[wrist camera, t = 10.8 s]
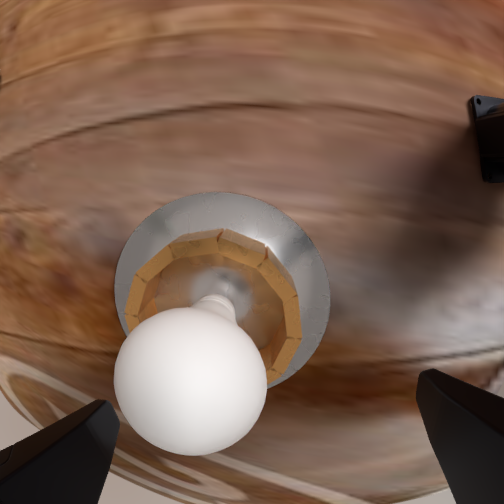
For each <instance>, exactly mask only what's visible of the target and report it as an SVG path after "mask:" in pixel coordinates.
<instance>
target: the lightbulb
mask: <svg viewBox="0 0 504 504" xmlns="http://www.w3.org/2000/svg"><path fill="white" fill-rule="evenodd" d="M114 388H115V394H116V397H117V401H118V404H119V406H120V409H121V411H122V413H123V414H124V416H125V418H126V419H127V421H128V422H129V424H130V425H131V427H132V428H133V429H134V430H135V431H136V432H137V433H138V434H139V435H140V436H141V437H143V438H144V439H145V440H146V441H148V442H150V443H151V444H153V445H155V446H157V447H159V448H161V449H163V450H166V451H169V452H172V453H176V454H181V455H192V456H198V455H206V454H210V453H214V452H217V451H220V450H223V449H225V448H227V447H229V446H231V445H233V444H234V443H236V442H237V441H238V440H240V439H241V438H242V437H244V436H245V435H246V434H247V433H248V432H249V431H250V429H251V428H252V427H253V426H254V424H255V423H256V421H257V420H258V418H259V415H260V413H261V411H262V409H263V406H264V403H265V399H266V392H267V378H266V369H265V366H264V363H263V360H262V358H261V355H260V353H259V351H258V349H257V347H256V346H255V344H254V342H253V341H252V339H251V338H250V337H249V336H248V335H247V334H246V333H245V331H244V330H243V329H242V328H240V327H239V326H238V325H237V322H236V319H235V309H234V306H233V305H232V303H231V302H230V301H229V299H227V298H226V297H224V296H222V295H219V294H207V295H204V296H202V297H201V298H200V299H199V300H198V301H197V302H196V303H195V304H194V305H192V306H190V307H186V308H173V309H169V310H166V311H162V312H160V313H158V314H156V315H154V316H152V317H150V318H148V319H146V320H144V321H142V322H141V323H140V324H139V325H138V326H137V327H135V328H134V329H133V330H132V332H131V333H130V334H129V335H128V337H127V338H126V340H125V341H124V342H123V344H122V346H121V349H120V351H119V354H118V357H117V360H116V363H115V371H114Z"/></svg>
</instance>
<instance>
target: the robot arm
mask: <svg viewBox="0 0 504 504" xmlns="http://www.w3.org/2000/svg"><path fill="white" fill-rule="evenodd" d="M476 100H477V101H478V104H477V102H476ZM471 104H472V108H473V114H474V119H475V124H476V130H477V137H478V144H479V151H480V159H481V168H482V177H483V180H484V181H485V182H486V183H500V182H504V99H500V98H494V97H487V96H480V95H475V96H473V97H472V98H471ZM488 174H489V178H488ZM416 401H417V404H418V407H419V410H420V413H421V416H422V419H423V422H424V425H425V428H426V431H427V434H428V437H429V440H430V443H431V445H432V448H433V450H434V452H435V455H436V457H437V459H438V461H439V464H440V466H441V468H442V470H443V473H444V475H445V477H446V480H447V482H448V484H449V487H450V489H451V492H452V494H453V497H454V499H455V501H456V504H504V398H502V397H500V396H497V395H495V394H493V393H490V392H488V391H485V390H483V389H481V388H478V387H476V386H474V385H471V384H469V383H466V382H464V381H462V380H459V379H457V378H455V377H452V376H450V375H448V374H446V373H443V372H441V371H439V370H436V369H434V368H432V369H428V370H424V371H422V372H420V374H419V378H418V384H417V391H416ZM119 428H120V422H119V419H118V417H117V415H116V412H115V410H114V408H113V406H112V404H111V403H110V401H108V400H100V399H98V400H95V401H93V402H91V403H90V404H88V405H86V406H84V407H83V408H81V409H79V410H77V411H75V412H74V413H72V414H70V415H68V416H66V417H64V418H63V419H61V420H59V421H57V422H55V423H53V424H51V425H50V426H48V427H46V428H44V429H42V430H40V431H38V432H36V433H34V434H33V435H31V436H29V437H27V438H25V439H23V440H21V441H19V442H17V443H15V444H14V445H11V446H9V447H7V448H5V449H3V450H1V451H0V504H98V501H99V498H100V495H101V492H102V489H103V486H104V483H105V480H106V477H107V474H108V472H109V468H110V465H111V461H112V457H113V453H114V449H115V444H116V440H117V436H118V432H119Z"/></svg>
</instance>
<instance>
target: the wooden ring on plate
mask: <svg viewBox="0 0 504 504" xmlns="http://www.w3.org/2000/svg"><path fill="white" fill-rule="evenodd" d="M207 294H219V295H222V296H224V297H226V298H227V299H229V301H230V302H231V303H232V305H233V306H234V309H235V319H236V322H237V325H238V326H239V327H240V328H242V329H243V330H244V331H245V333H246V334H247V335H248V336H249V337H250V338H251V339H252V341H253V342H254V344H255V346H256V347H257V349H258V351H259V353H260V355H261V358H262V360H263V363H264V366H265V369H266V378H267V389H268V388H270V387H273V386H275V385H277V384H279V383H281V382H282V381H284V380H286V379H287V378H289V377H290V376H291V375H293V374H294V373H295V372H297V371H298V370H299V369H300V368H301V367H302V366H303V365H304V364H305V363H306V362H307V361H308V359H309V358H310V357H311V356H312V355H313V353H314V352H315V350H316V348H317V347H318V345H319V343H320V341H321V339H322V337H323V335H324V333H325V329H326V326H327V323H328V319H329V312H330V287H329V280H328V276H327V273H326V269H325V266H324V263H323V261H322V259H321V257H320V255H319V252H318V251H317V249H316V247H315V246H314V244H313V243H312V241H311V240H310V238H309V237H308V236H307V235H306V233H305V232H304V231H303V230H302V229H301V228H300V227H299V225H298V224H297V223H295V222H294V221H293V220H292V219H291V218H290V217H289V216H287V215H286V214H285V213H283V212H282V211H280V210H279V209H277V208H276V207H274V206H272V205H270V204H268V203H266V202H264V201H262V200H259V199H256V198H253V197H250V196H247V195H243V194H237V193H231V192H208V193H199V194H195V195H191V196H187V197H183V198H180V199H178V200H175V201H173V202H170V203H168V204H166V205H165V206H163V207H161V208H159V209H158V210H156V211H155V212H153V213H152V214H151V215H150V216H148V217H147V218H146V219H145V220H144V221H143V222H142V223H141V224H140V225H139V226H138V227H137V228H136V229H135V231H134V232H133V234H132V235H131V236H130V238H129V239H128V241H127V243H126V245H125V247H124V249H123V251H122V253H121V256H120V259H119V262H118V265H117V270H116V276H115V302H116V308H117V312H118V316H119V319H120V322H121V325H122V328H123V330H124V332H125V334H126V336H127V337H128V335H129V334H130V333H131V332H132V330H133V329H134V328H135V327H137V326H138V325H139V324H140V323H141V322H142V321H144V320H146V319H148V318H150V317H152V316H154V315H156V314H158V313H160V312H162V311H166V310H169V309H173V308H186V307H190V306H192V305H194V304H195V303H196V302H197V301H198V300H199V299H200V298H201V297H202V296H204V295H207Z"/></svg>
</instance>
